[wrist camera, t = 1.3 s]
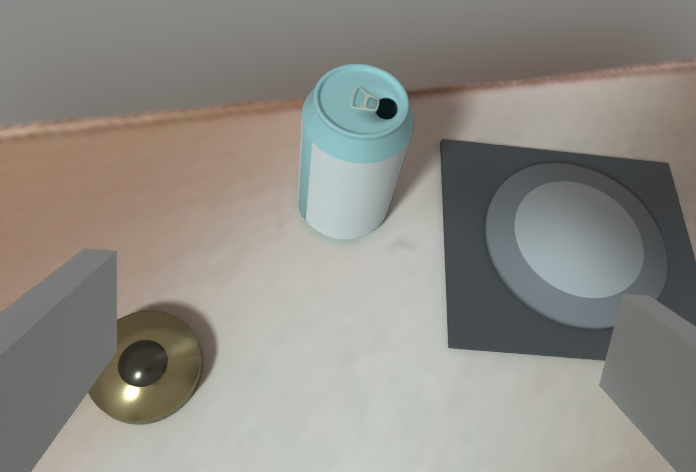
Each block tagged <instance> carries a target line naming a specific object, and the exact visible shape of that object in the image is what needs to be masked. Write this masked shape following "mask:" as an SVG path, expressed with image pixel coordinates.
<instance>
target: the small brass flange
mask: <svg viewBox="0 0 696 472" xmlns="http://www.w3.org/2000/svg"><path fill="white" fill-rule="evenodd" d="M201 374H202V354H201V350H200V347H199V344H198V342H197V340H196V338H195V336H194V334H193V332H192V331H191V329H190V328H189V327H188V326H187V325H186V324H185V323H184V322H182V321H181V320H180V319H178V318H176V317H175V316H172V315H170V314H167V313H163V312H158V311H142V312H137V313H132V314H130V315H127V316H124V317H122V318H120V319H118V320H117V352H116V354H115V355H114V356H113V358H112V359H111V361H110V362H109V363H108V365H107V366H106V368H105V369H104V370H103V372H102V373H101V375H100V376H99V377H98V379H97V380H96V382H95V383H94V384H93V386H92V387H91V388H90V390H89V391H88V393H89V395H90V397H91V399H92V400H93V401H94V403H95V404H96V405H97V406H98V407H99V408H100V409H101V410H102V411H104V412H105V413H106V414H107V415H109V416H111V417H112V418H114V419H116V420H118V421H121V422H124V423H128V424H150V423H154V422H158V421H160V420H163V419H165V418H167V417H169V416H171V415H173V414H174V413H175V412H177V411H178V410H179V409H181V408H182V407H183V406H184V405H185V404H186V403H187V402H188V400H189V399H190V398H191V397H192V395H193V394H194V392H195V390H196V388H197V386H198V384H199V381H200V378H201Z"/></svg>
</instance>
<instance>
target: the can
mask: <svg viewBox="0 0 696 472" xmlns="http://www.w3.org/2000/svg"><path fill="white" fill-rule="evenodd" d="M413 129H414V118H413V113H412V110H411V107H410V105H409V99H408V95H407V93H406V90H405V89H404V87H403V86H402V84H401V83H400V82H399V81H398V80H397V79H396V78H395V77H393V76H392V75H391V74H389V73H388V72H386V71H384V70H382V69H380V68H377V67H374V66H370V65H364V64H349V65H344V66H340V67H337V68H334V69H332V70H331V71H329V72H327V73H326V74H325V75H324V76H323V77H322V78H321V79H320V80H319V81H318V83H317V85H316V87H315V88H314V89H313V90H312V91H311V92H310V93H309V95H308V97H307V98H306V100H305V102H304V105H303V110H302V124H301V142H300V161H299V179H298V206H299V209H300V212H301V214H302V216H303V217H304V219H305V220H306V221H307V223H308V224H309V225H310V226H311V227H313V228H314V229H315V230H317V231H318V232H320V233H322V234H324V235H327V236H329V237H333V238H338V239H354V238H359V237H362V236H365V235H367V234H369V233H371V232H372V231H374V230H375V229H376V228H377V227H378V226H379V225H380V224H381V223H382V222H383V220H384V218H385V216H386V214H387V211H388V208H389V205H390V202H391V199H392V196H393V192H394V189H395V186H396V183H397V180H398V177H399V174H400V171H401V168H402V165H403V161H404V158H405V155H406V152H407V149H408V146H409V143H410V140H411V137H412V133H413Z"/></svg>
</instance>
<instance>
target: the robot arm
mask: <svg viewBox="0 0 696 472" xmlns="http://www.w3.org/2000/svg"><path fill="white" fill-rule="evenodd" d="M116 352H117V251H110V250H98V249H86V248H85V249H84V250H82V251H81V252H80V253H78V254H77V255H76V256H74V257H73V258H72V259H70V260H69V261H68V262H66V263H65V264H64V265H62V266H61V267H60V268H59V269H57V270H56V271H55V272H53V273H52V274H51V275H49V276H48V277H47V278H45V279H44V280H43V281H41V282H40V283H39V284H37V285H36V286H35V287H33V288H32V289H31V290H30V291H28V292H27V293H26V294H24V295H23V296H22V297H20V298H19V299H18V300H16V301H15V302H14V303H12V304H11V305H10V306H8V307H7V308H6V309H5V310H3V311H2V312H1V313H0V472H31V471H32V469H33V468H34V467H35V465H36V464H37V463H38V461H39V460H40V458H41V457H42V456H43V454H44V453H45V451H46V450H47V449H48V447H49V446H50V444H51V443H52V442H53V440H54V439H55V437H56V436H57V435H58V433H59V432H60V430H61V429H62V428H63V426H64V425H65V423H66V422H67V421H68V419H69V418H70V416H71V415H72V414H73V412H74V411H75V409H76V408H77V407H78V405H79V404H80V402H81V401H82V400H83V398H84V397H85V395H86V394H87V393H88V391H89V390H90V388H91V387H92V386H93V384H94V383H95V382H96V380H97V379H98V377H99V376H100V375H101V373H102V372H103V370H104V369H105V368H106V366H107V365H108V363H109V362H110V361H111V359H112V358H113V356H114V355H115V354H116ZM599 386H600V387H601V388H602V389H603V390H604V392H605V393H606V394H607V395H608V396H609V397H610V398H611V399H612V400H613V402H614V403H615V404H616V405H617V406H618V407H619V408H620V409H621V410H622V412H623V413H624V414H625V415H626V416H627V417H628V418H629V419H630V420H631V422H632V423H633V424H634V425H635V426H636V427H637V428H638V429H639V430H640V432H641V433H642V434H643V435H644V436H645V437H646V438H647V439H648V440H649V442H650V443H651V444H652V445H653V446H654V447H655V448H656V449H657V450H658V452H659V453H660V454H661V455H662V456H663V457H664V458H665V459H666V460H667V462H668V463H669V464H670V465H671V466H672V467H673V468H674V469H675V470H676V472H696V327H695V326H694V325H692V324H691V323H689V322H688V321H686V320H685V319H683V318H682V317H680V316H679V315H677V314H676V313H674V312H673V311H671V310H670V309H668V308H667V307H665V306H664V305H663V304H661V303H660V302H658V301H657V300H655V299H654V298H652V297H651V296H645V295H633V294H622V297H621V301H620V305H619V309H618V313H617V317H616V321H615V325H614V329H613V333H612V337H611V341H610V345H609V349H608V353H607V356H606V360H605V364H604V368H603V372H602V376H601V380H600V384H599Z"/></svg>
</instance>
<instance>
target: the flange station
mask: <svg viewBox="0 0 696 472" xmlns="http://www.w3.org/2000/svg"><path fill="white" fill-rule="evenodd" d="M440 147H441V172H442V198H443V223H444V248H445V274H446V299H447V324H448V348H455V349H468V350H480V351H493V352H505V353H518V354H530V355H543V356H555V357H567V358H580V359H592V360H606V356H607V353H608V349H609V345H610V341H611V337H612V333H613V329H614V325H615V321H616V317H617V313H618V309H619V305H620V301H621V297H622V294H633V295H645V296H651V297H652V298H654V299H655V300H657V301H658V302H660V303H661V304H663V305H664V306H665V307H667V308H668V309H670V310H671V311H673V312H674V313H676V314H677V315H679V316H680V317H682V318H683V319H685V320H686V321H688V322H689V323H691V324H692V325H694V326H695V327H696V261H695V258H694V254H693V250H692V247H691V243H690V240H689V236H688V232H687V229H686V225H685V222H684V218H683V214H682V211H681V207H680V204H679V200H678V196H677V193H676V189H675V186H674V182H673V178H672V175H671V171H670V168H669V164H668V163H661V162H652V161H642V160H633V159H623V158H614V157H605V156H595V155H586V154H576V153H567V152H557V151H548V150H539V149H529V148H520V147H510V146H501V145H491V144H482V143H473V142H463V141H454V140H444V139H442V140H441V142H440Z"/></svg>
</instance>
